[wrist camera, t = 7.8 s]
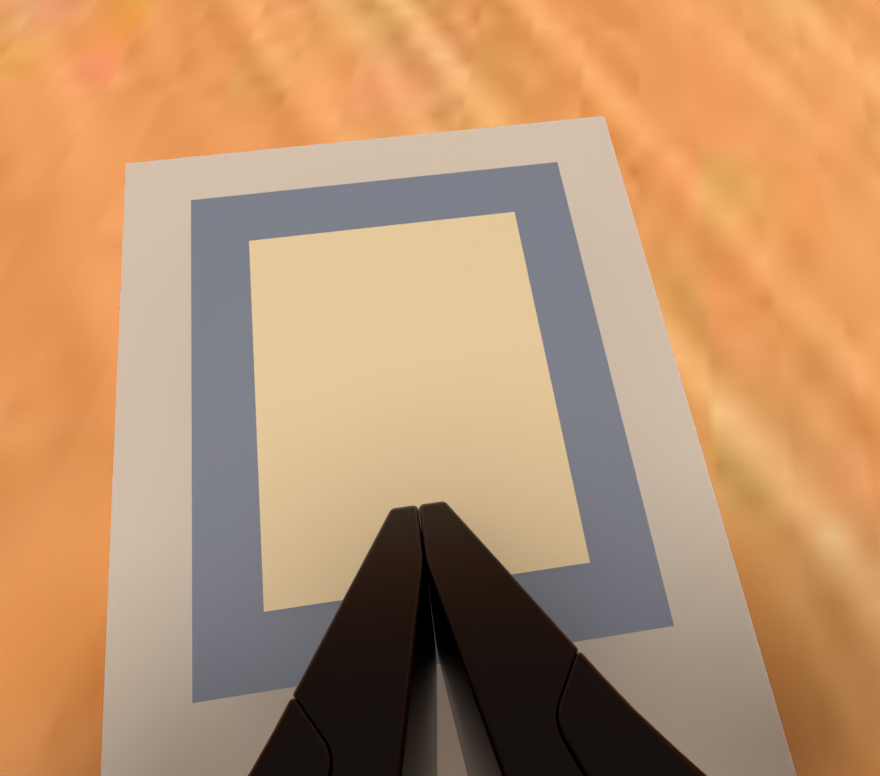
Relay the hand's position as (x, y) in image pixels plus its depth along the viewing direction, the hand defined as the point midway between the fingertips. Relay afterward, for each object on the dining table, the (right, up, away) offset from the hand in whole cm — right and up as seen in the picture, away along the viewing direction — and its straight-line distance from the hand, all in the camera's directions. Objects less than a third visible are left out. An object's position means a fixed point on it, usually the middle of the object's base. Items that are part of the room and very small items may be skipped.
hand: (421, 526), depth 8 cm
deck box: (0, -4, +4) cm, 6 cm away
